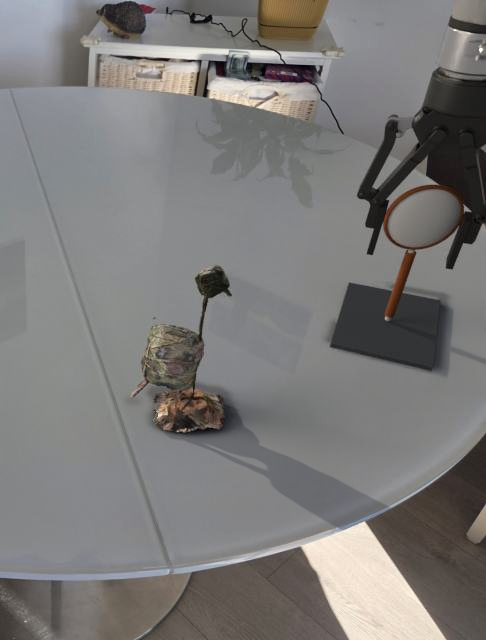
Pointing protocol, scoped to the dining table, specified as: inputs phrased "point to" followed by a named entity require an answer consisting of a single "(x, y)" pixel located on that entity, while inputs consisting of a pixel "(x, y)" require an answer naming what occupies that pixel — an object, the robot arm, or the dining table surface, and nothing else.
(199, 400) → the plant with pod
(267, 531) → the dining table surface
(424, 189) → the magnifying glass
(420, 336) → the mat
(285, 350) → the dining table surface
